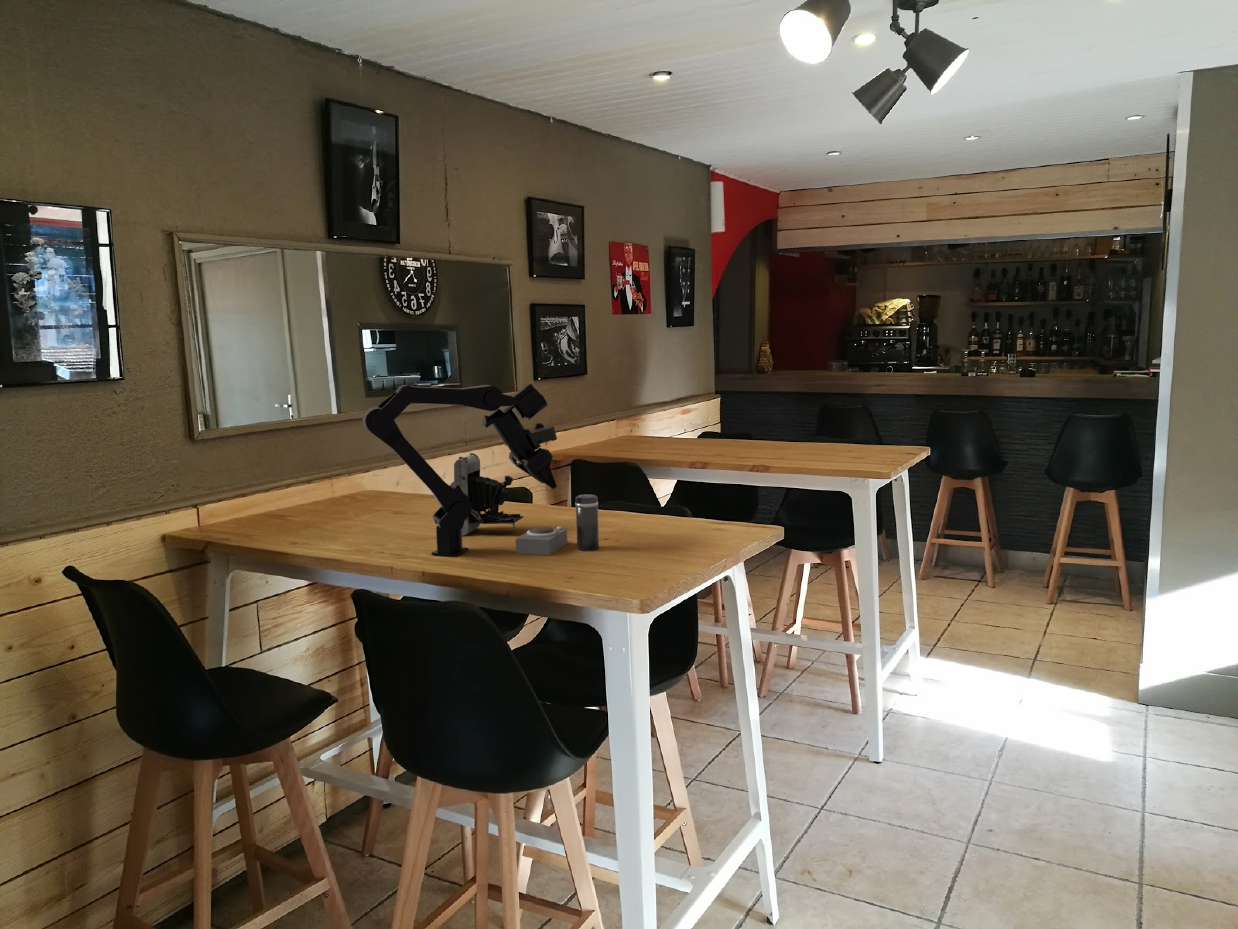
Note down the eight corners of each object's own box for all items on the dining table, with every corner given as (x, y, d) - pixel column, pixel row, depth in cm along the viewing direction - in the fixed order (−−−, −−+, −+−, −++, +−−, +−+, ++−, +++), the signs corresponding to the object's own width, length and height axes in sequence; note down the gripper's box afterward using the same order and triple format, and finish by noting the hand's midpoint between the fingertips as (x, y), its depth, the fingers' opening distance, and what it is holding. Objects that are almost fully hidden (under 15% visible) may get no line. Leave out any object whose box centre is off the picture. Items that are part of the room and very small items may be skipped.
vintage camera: (513, 539, 219) (513, 459, 216) (453, 536, 222) (452, 456, 219) (524, 531, 228) (524, 454, 226) (467, 528, 231) (467, 452, 228)
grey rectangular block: (549, 555, 199) (548, 536, 199) (516, 553, 202) (515, 534, 201) (567, 543, 211) (566, 525, 210) (535, 542, 213) (535, 524, 212)
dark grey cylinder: (595, 551, 202) (593, 498, 200) (573, 550, 203) (572, 497, 202) (602, 546, 207) (600, 494, 205) (581, 545, 208) (579, 493, 207)
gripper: (551, 414, 199) (588, 469, 204) (529, 409, 216) (565, 460, 221) (511, 443, 197) (550, 499, 201) (493, 436, 214) (529, 487, 219)
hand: (549, 485), depth 211 cm, fingers open, 9 cm apart
